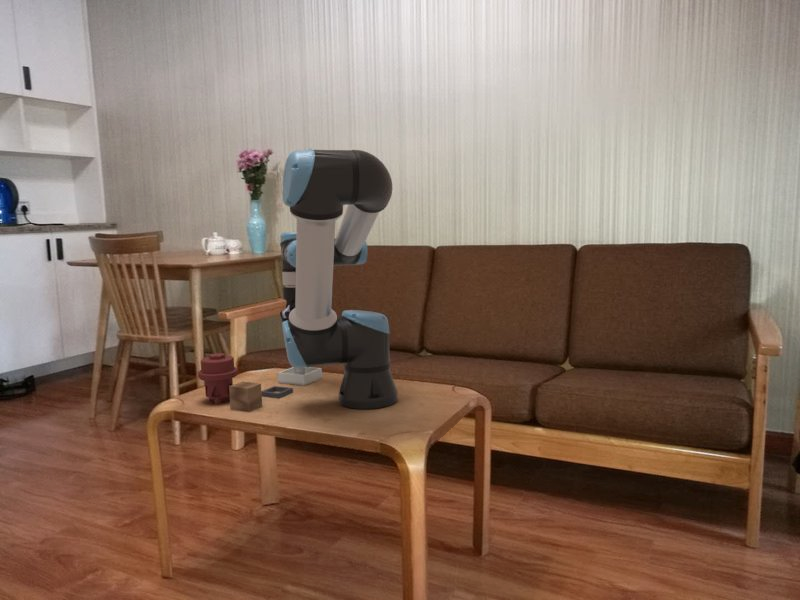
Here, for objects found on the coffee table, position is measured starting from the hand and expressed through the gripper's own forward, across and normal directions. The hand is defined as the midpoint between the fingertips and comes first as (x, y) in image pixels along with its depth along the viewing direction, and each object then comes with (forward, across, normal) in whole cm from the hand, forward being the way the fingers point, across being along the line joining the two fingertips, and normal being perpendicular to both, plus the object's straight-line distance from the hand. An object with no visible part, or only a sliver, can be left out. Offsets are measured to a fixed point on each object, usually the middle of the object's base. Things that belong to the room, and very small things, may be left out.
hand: (299, 365), depth 183 cm
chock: (+5, +28, +3) cm, 28 cm away
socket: (+5, +15, +3) cm, 15 cm away
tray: (+5, 0, 0) cm, 5 cm away
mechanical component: (+5, +25, -8) cm, 27 cm away
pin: (+4, 0, 0) cm, 4 cm away
